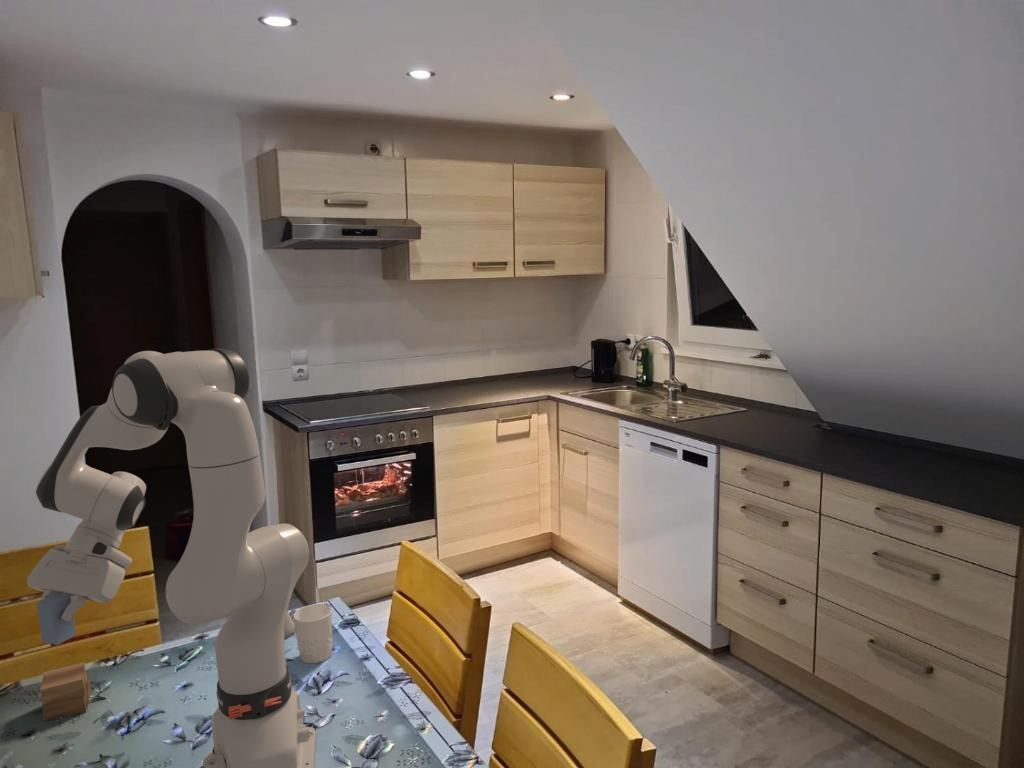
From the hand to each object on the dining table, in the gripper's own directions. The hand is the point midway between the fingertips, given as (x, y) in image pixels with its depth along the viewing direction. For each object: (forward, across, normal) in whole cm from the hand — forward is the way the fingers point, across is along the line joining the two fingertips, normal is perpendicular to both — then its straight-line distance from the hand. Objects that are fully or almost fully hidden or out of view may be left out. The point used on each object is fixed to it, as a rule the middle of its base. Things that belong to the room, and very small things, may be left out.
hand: (52, 617), depth 143 cm
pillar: (+3, 0, +4) cm, 5 cm away
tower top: (+11, 0, +11) cm, 16 cm away
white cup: (-9, +35, +36) cm, 51 cm away
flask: (-13, +21, +40) cm, 47 cm away
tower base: (+13, 0, +14) cm, 19 cm away
